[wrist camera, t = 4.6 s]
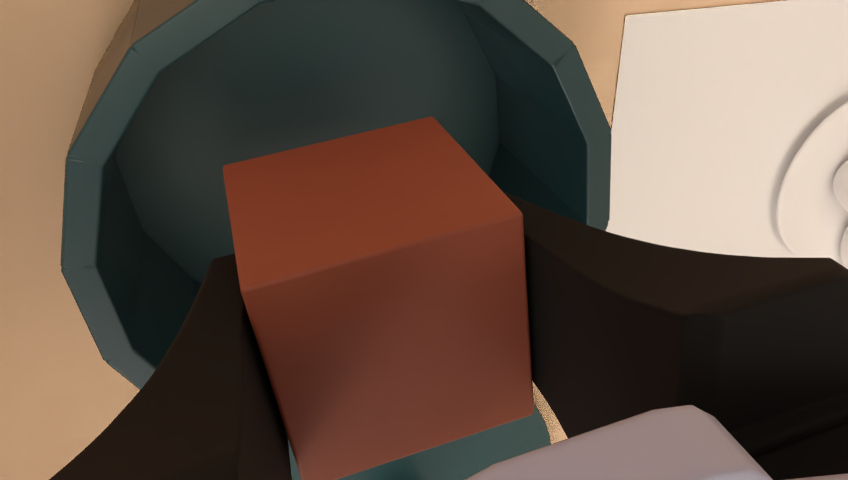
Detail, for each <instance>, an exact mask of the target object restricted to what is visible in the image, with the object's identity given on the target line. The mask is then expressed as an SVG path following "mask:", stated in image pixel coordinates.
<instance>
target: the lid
mask: <svg viewBox="0 0 848 480" xmlns="http://www.w3.org/2000/svg"><path fill="white" fill-rule="evenodd" d="M548 445H551V442H550V436H549V433H548V429H547V426H546V423H545V421H544V420H543V418H542V416H541V414H540V412H539V411H538V409H537V407H536V406H535V404H534V413H533V414H532V415H530V416H527V417H524V418H521V419H518V420H515V421H512V422H509V423H506V424H503V425H500V426H497V427H494V428H491V429H488V430H485V431H482V432H479V433H476V434H473V435H470V436H467V437H464V438H461V439H457V440H454V441H451V442H448V443H445V444H442V445H439V446H436V447H433V448H430V449H427V450H424V451H421V452H418V453H415V454H412V455H409V456H406V457H403V458H400V459H397V460H394V461H391V462H388V463H385V464H382V465H379V466H376V467H373V468H370V469H367V470H364V471H361V472H358V473H355V474H352V475H349V476H346V477H343V478H340V479H337V480H465V479H467V478H469V477H471V476H473V475H474V474H476V473H478V472H480V471H482V470H484V469H485V468H487V467H489V466H491V465H493V464H495V463H498V462H501V461H504V460H507V459H510V458H513V457H516V456H519V455H522V454H524V453H527V452H530V451H533V450H536V449H539V448H542V447H545V446H548ZM289 454H290V465H291V475H292V480H301V477H300V474H299V471H298V467H297V464H296V461H295V458H294V455H293V452H292V449H291V448H289Z"/></svg>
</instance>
